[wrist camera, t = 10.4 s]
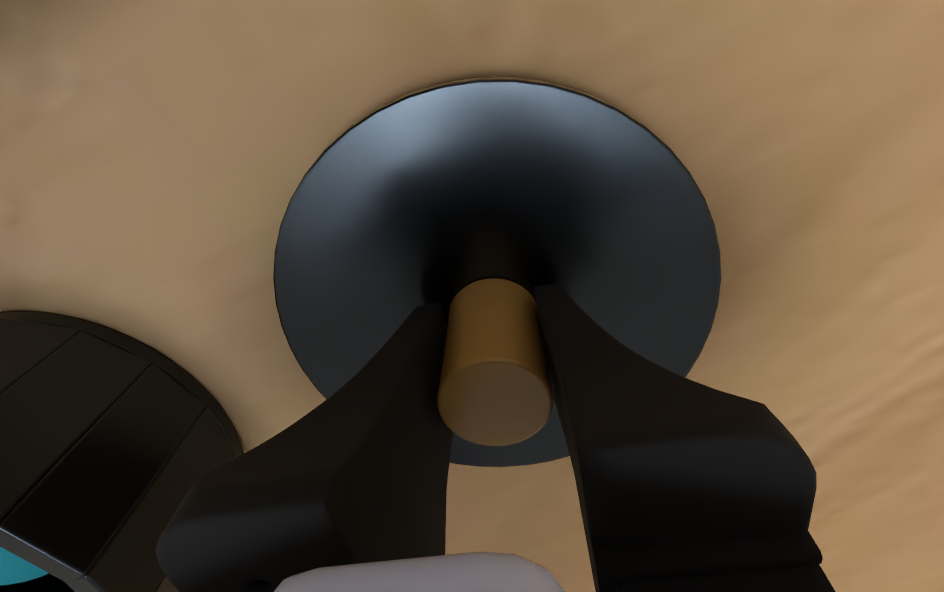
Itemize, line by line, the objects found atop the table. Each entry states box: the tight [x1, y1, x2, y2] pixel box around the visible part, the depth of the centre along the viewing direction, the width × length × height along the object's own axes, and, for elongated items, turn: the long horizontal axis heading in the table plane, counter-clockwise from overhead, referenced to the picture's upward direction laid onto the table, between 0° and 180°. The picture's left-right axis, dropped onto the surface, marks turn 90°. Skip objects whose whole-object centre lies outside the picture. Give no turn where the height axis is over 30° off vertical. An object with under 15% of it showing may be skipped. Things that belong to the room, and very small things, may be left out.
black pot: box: [0, 312, 243, 592], centre depth 15 cm, size 11×11×6 cm
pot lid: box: [273, 77, 721, 467], centre depth 12 cm, size 12×12×4 cm
